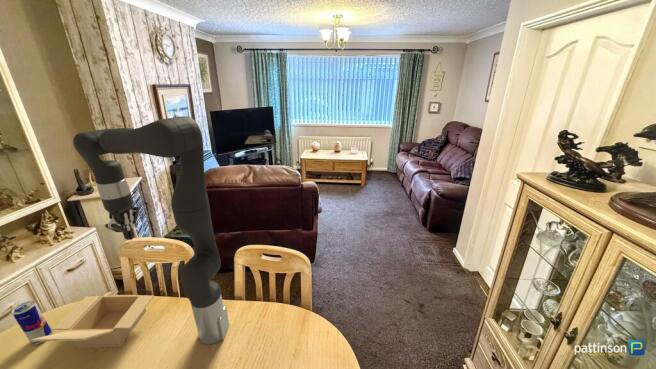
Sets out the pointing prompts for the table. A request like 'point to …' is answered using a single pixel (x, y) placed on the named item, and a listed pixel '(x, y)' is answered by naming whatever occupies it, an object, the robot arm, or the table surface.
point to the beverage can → (31, 321)
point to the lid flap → (72, 335)
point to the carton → (105, 318)
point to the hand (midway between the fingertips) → (130, 238)
